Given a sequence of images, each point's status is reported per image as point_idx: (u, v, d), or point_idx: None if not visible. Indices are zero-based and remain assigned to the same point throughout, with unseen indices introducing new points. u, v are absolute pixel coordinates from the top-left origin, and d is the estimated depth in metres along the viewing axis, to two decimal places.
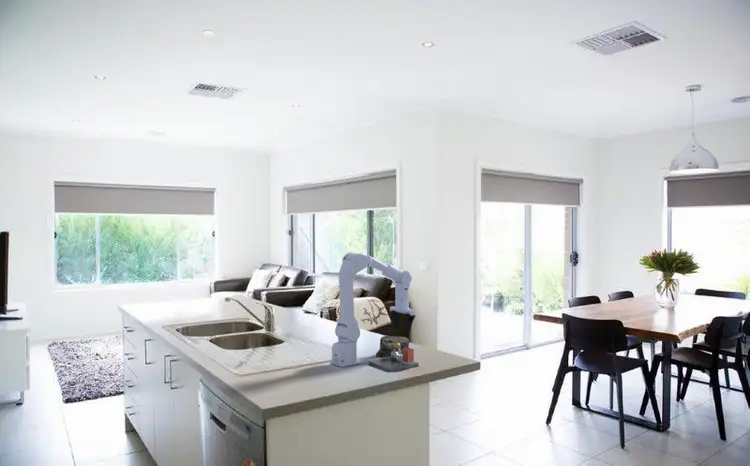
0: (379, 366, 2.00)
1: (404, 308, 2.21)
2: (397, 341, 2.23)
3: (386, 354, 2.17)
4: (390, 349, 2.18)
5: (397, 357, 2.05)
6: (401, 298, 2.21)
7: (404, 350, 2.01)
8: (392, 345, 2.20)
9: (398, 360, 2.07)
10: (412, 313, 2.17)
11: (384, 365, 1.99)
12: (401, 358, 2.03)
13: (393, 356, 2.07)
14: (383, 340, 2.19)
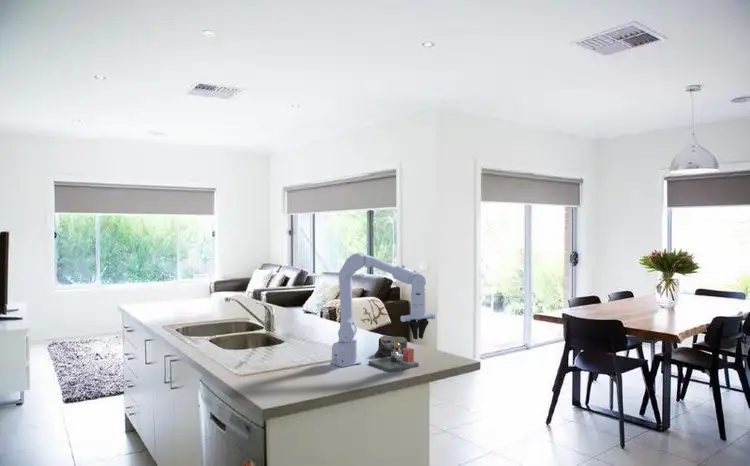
0: (379, 366, 2.00)
1: None
2: (395, 341, 2.22)
3: (385, 354, 2.17)
4: (389, 349, 2.18)
5: (397, 357, 2.05)
6: (413, 303, 2.03)
7: (404, 350, 2.01)
8: (391, 345, 2.19)
9: (398, 360, 2.07)
10: None
11: (384, 365, 1.99)
12: (401, 358, 2.03)
13: (393, 356, 2.07)
14: (382, 340, 2.19)
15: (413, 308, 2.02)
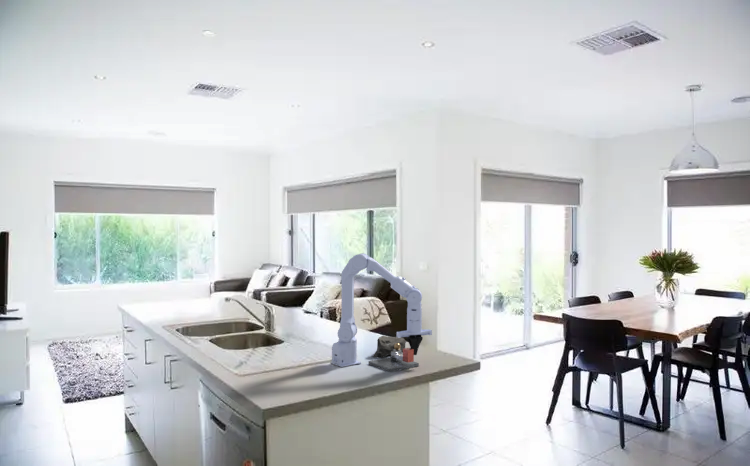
0: (379, 366, 2.00)
1: None
2: (394, 341, 2.22)
3: (384, 354, 2.16)
4: (388, 349, 2.17)
5: (397, 357, 2.05)
6: (408, 319, 2.02)
7: (404, 350, 2.01)
8: (390, 345, 2.19)
9: (398, 360, 2.07)
10: None
11: (384, 365, 1.99)
12: (401, 358, 2.03)
13: (393, 356, 2.07)
14: (381, 340, 2.18)
15: (409, 324, 2.01)
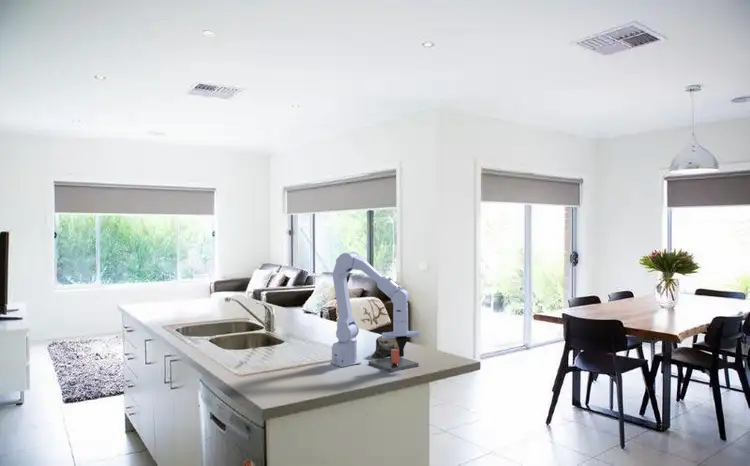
0: (379, 366, 2.00)
1: (408, 331, 1.99)
2: (392, 341, 2.22)
3: (383, 355, 2.16)
4: (387, 350, 2.17)
5: None
6: (394, 320, 1.99)
7: (391, 350, 2.00)
8: (388, 346, 2.18)
9: None
10: None
11: (384, 365, 1.99)
12: None
13: None
14: (379, 341, 2.18)
15: (394, 325, 1.98)
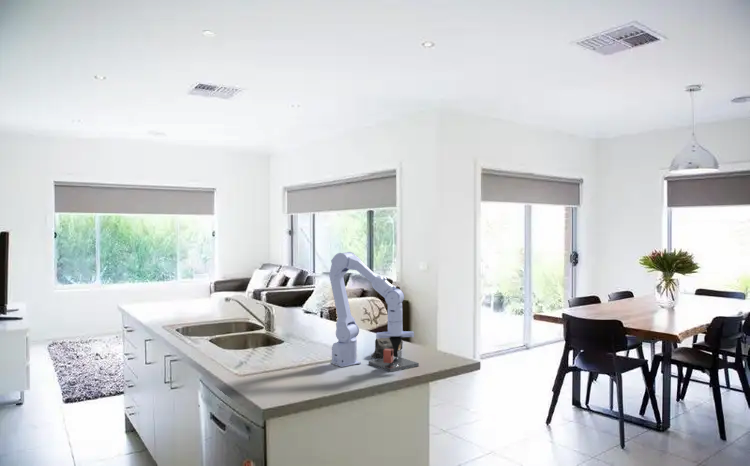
0: (379, 366, 2.00)
1: (402, 331, 1.99)
2: None
3: (382, 355, 2.15)
4: None
5: None
6: (388, 320, 1.98)
7: None
8: (387, 346, 2.18)
9: (398, 360, 2.07)
10: None
11: (384, 365, 1.99)
12: None
13: None
14: (379, 341, 2.17)
15: (388, 325, 1.98)
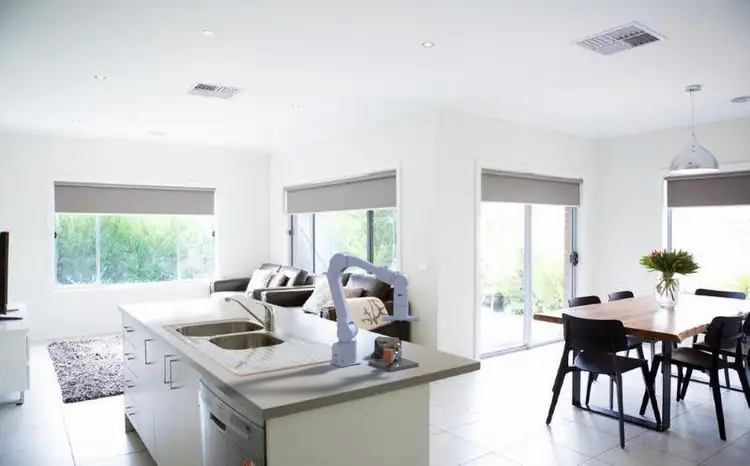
0: (379, 366, 2.00)
1: (407, 315, 2.01)
2: (390, 342, 2.21)
3: (382, 355, 2.15)
4: None
5: None
6: (395, 304, 2.00)
7: None
8: (387, 346, 2.18)
9: (398, 360, 2.07)
10: (419, 319, 2.01)
11: (384, 365, 1.99)
12: None
13: None
14: (378, 341, 2.17)
15: (394, 309, 2.01)
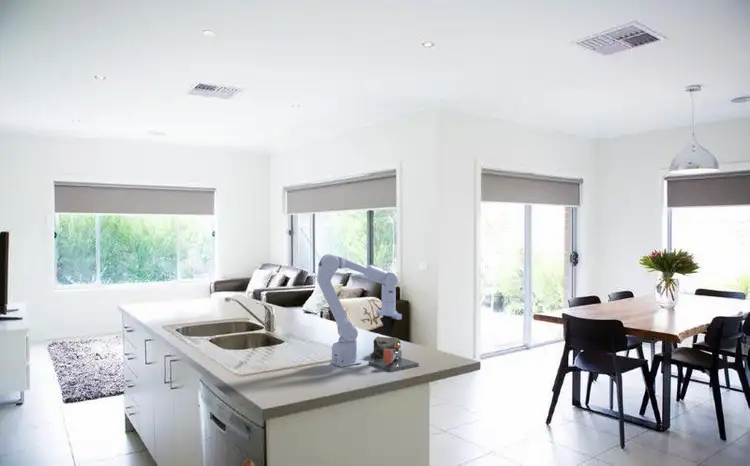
0: (379, 366, 2.00)
1: (390, 312, 2.09)
2: (389, 342, 2.21)
3: (381, 355, 2.15)
4: None
5: None
6: (385, 301, 2.09)
7: None
8: (386, 346, 2.18)
9: (398, 360, 2.07)
10: (399, 317, 2.05)
11: (384, 365, 1.99)
12: None
13: None
14: (377, 341, 2.16)
15: None
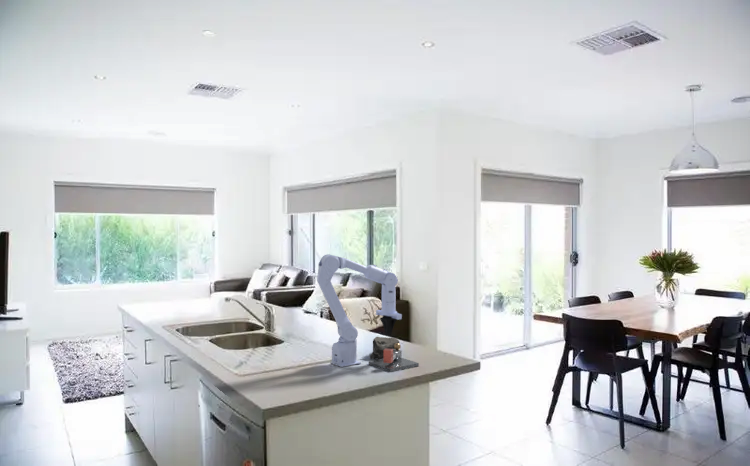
0: (379, 366, 2.00)
1: (390, 312, 2.09)
2: (388, 342, 2.21)
3: (381, 356, 2.14)
4: None
5: None
6: (385, 301, 2.09)
7: None
8: (385, 346, 2.17)
9: (398, 360, 2.07)
10: (399, 317, 2.05)
11: (384, 365, 1.99)
12: None
13: None
14: (377, 341, 2.16)
15: None
